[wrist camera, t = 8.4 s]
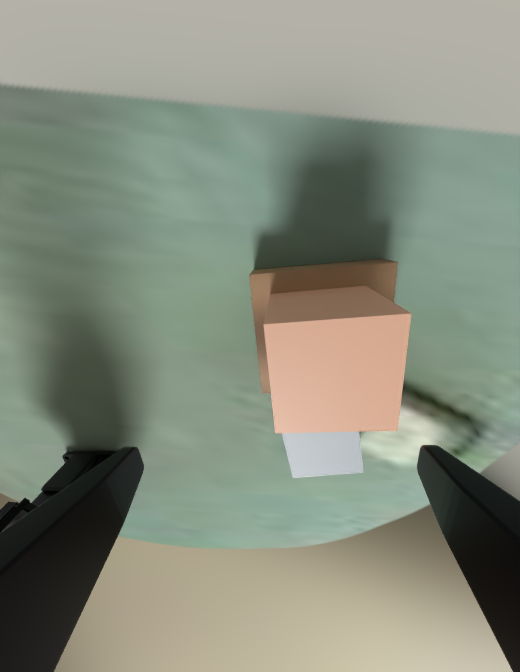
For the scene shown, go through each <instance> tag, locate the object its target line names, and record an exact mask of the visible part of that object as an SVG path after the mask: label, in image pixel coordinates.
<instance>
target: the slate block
mask: <svg viewBox="0 0 520 672" xmlns="http://www.w3.org/2000/svg"><path fill="white" fill-rule="evenodd" d="M282 435H283V439H284V443H285V447H286V452H287V456H288V460H289V464H290V468H291V472H292V476H293V478H299V477H312V476H325V475H338V474H351V473H363V464H362V454H361V445H360V435H359V432H314V433H282Z"/></svg>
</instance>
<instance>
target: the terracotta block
mask: <svg viewBox="0 0 520 672" xmlns="http://www.w3.org/2000/svg"><path fill="white" fill-rule="evenodd" d="M410 321H411V313H410V312H408V311H407V310H405V309H403V308H402V307H400V306H398V305H397V304H395V303H393V302H392V301H390V300H389V299H387V298H385V297H384V296H382V295H380V294H379V293H377V292H375V291H374V290H372V289H370V288H369V287H367V286H356V287H344V288H333V289H322V290H310V291H299V292H288V293H276V294H270V297H269V301H268V306H267V311H266V315H265V320H264V324H263V325H264V334H265V343H266V352H267V361H268V371H269V380H270V389H271V398H272V407H273V417H274V426H275V433H314V432H360V431H397V430H398V422H399V413H400V405H401V397H402V388H403V380H404V371H405V363H406V355H407V346H408V338H409V329H410Z"/></svg>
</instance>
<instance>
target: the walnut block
mask: <svg viewBox="0 0 520 672" xmlns="http://www.w3.org/2000/svg"><path fill="white" fill-rule="evenodd" d="M397 265H398V262H394V261H390V260H386V259H373V260H362V261H350V262H338V263H327V264H315V265H303V266H292V267H280V268H268V269H257V270H253V271H252V272H251V273H250V275H249V277H250V286H251V295H252V305H253V314H254V323H255V333H256V342H257V351H258V361H259V370H260V379H261V389H262V393H271V389H270V380H269V371H268V361H267V352H266V343H265V334H264V325H263V324H264V320H265V315H266V311H267V306H268V301H269V297H270V294H276V293H288V292H299V291H310V290H322V289H333V288H344V287H356V286H367V287H369V288H370V289H372V290H374V291H375V292H377V293H379V294H380V295H382V296H384V297H385V298H387V299H389V300H390V301H392V302H393V303H394V294H395V284H396V275H397Z"/></svg>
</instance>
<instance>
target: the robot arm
mask: <svg viewBox="0 0 520 672" xmlns="http://www.w3.org/2000/svg"><path fill="white" fill-rule="evenodd" d="M63 459H64V461H65V464H64V465H63V466H62V467H61V468H60V469H59V470H58V471H57V472H56V473H55V474H54V475H53V476H52V477H51V479H50V480H49V481H48V482H47V483H46V484H45V485H44V486H43V487H42V489H41V490H42V492H41V493H40V494H39V495H38V497H37V498H36V499H35V500H34V501H33V502H32V503H30V500H28V499H26V498H24V499H23V500H22V501H21V502H20V503H17V502H16V503H15V502H8V503H7V504H6V505H5V506H4V507H3V508H2V509H1V510H0V672H54V670H55V668H56V666H57V664H58V662H59V660H60V657H61V655H62V653H63V651H64V649H65V647H66V645H67V642H68V640H69V638H70V636H71V634H72V632H73V630H74V628H75V626H76V624H77V621H78V619H79V617H80V615H81V613H82V611H83V609H84V607H85V604H86V602H87V600H88V598H89V596H90V594H91V591H92V590H93V587H94V585H95V583H96V581H97V579H98V577H99V575H100V572H101V571H102V568H103V566H104V564H105V562H106V560H107V557H108V556H109V554H110V551H111V549H112V547H113V545H114V543H115V541H116V539H117V537H118V535H119V532H120V530H121V528H122V526H123V524H124V521H125V519H126V516H127V514H128V511H129V508H130V506H131V503H132V500H133V498H134V495H135V492H136V490H137V487H138V484H139V482H140V479H141V476H142V474H143V470H144V464H143V461H142V458H141V455H140V452H139V449H138V448H137V447H123V448H122V449H120V450H119V451H117V452H66V453H65V454H64V455H63ZM417 470H418V474H419V476H420V479H421V481H422V484H423V486H424V489H425V491H426V494H427V496H428V499H429V501H430V504H431V506H432V509H433V511H434V513H435V516H436V519H437V521H438V523H439V526H440V528H441V531H442V533H443V535H444V537H445V539H446V541H447V543H448V545H449V547H450V549H451V551H452V553H453V555H454V557H455V559H456V560H457V563H458V565H459V567H460V569H461V571H462V572H463V574H464V576H465V578H466V580H467V582H468V584H469V586H470V588H471V590H472V592H473V594H474V596H475V598H476V600H477V602H478V604H479V606H480V608H481V610H482V612H483V614H484V616H485V618H486V620H487V622H488V623H489V625H490V627H491V629H492V631H493V633H494V635H495V637H496V639H497V641H498V643H499V645H500V647H501V649H502V651H503V653H504V654H505V657H506V659H507V661H508V663H509V665H510V667H511V669H512V670H513V672H520V501H519V500H517V499H516V498H514V497H513V496H512V495H510V494H509V493H507V492H506V491H504V490H502V489H501V488H500V487H498V486H497V485H495V484H494V483H492V482H491V481H489V480H488V479H486V478H485V477H483V476H482V475H481V474H479V473H478V472H476V471H475V470H473V469H472V468H470V467H469V466H467V465H466V464H464V463H463V462H461V461H460V460H458V459H457V458H455V457H454V456H452V455H451V454H450V453H448V452H447V451H445V450H444V449H442V448H441V447H439V446H437V445H423V446H421V448H420V452H419V458H418V463H417ZM3 530H4V531H3Z"/></svg>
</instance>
